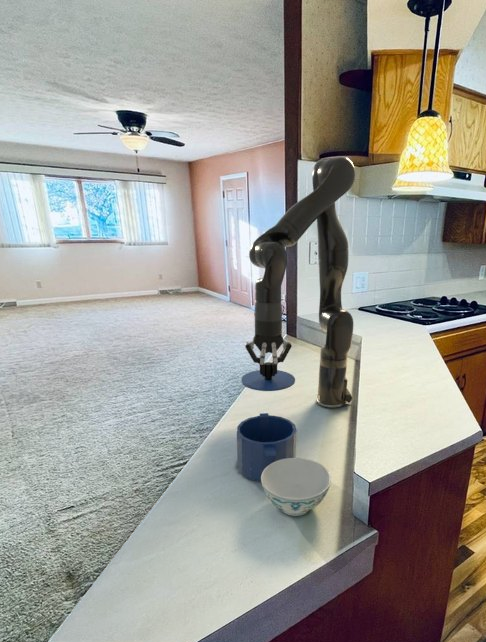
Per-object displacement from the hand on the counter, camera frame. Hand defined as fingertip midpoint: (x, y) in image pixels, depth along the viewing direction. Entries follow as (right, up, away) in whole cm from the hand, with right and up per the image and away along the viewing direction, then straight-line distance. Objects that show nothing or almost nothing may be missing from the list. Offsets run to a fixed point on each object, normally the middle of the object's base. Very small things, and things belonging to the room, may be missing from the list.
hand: (268, 375), depth 120 cm
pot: (+1, -23, -14) cm, 27 cm away
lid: (0, -1, +1) cm, 2 cm away
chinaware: (+10, -30, -29) cm, 42 cm away
